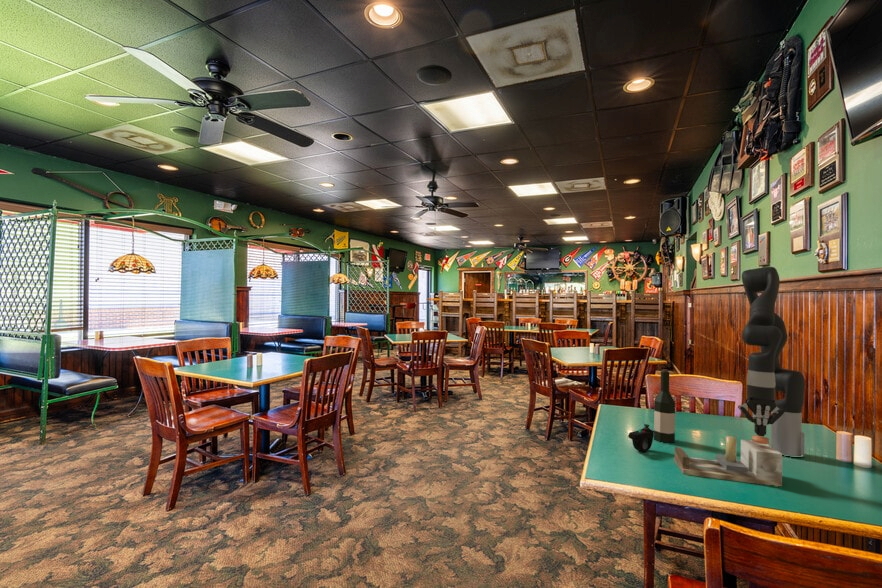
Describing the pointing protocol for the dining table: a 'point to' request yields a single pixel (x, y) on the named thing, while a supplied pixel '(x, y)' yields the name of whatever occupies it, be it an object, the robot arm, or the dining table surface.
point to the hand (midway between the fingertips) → (760, 435)
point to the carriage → (731, 457)
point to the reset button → (760, 439)
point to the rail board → (754, 456)
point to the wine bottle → (664, 412)
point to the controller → (642, 438)
